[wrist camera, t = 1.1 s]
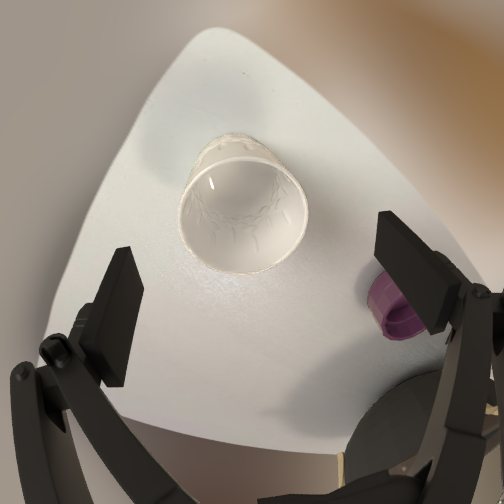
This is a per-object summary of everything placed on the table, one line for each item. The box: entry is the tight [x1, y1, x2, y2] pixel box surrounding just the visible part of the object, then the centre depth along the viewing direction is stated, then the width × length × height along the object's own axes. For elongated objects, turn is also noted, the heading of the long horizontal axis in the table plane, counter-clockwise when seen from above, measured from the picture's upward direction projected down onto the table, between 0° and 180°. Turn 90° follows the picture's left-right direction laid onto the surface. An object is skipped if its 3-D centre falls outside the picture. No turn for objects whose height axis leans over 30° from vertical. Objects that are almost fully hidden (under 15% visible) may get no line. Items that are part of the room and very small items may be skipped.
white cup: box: [178, 134, 309, 275], centre depth 23 cm, size 8×8×10 cm
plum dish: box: [367, 270, 426, 341], centre depth 35 cm, size 9×9×5 cm
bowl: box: [337, 370, 500, 488], centre depth 45 cm, size 35×35×20 cm
